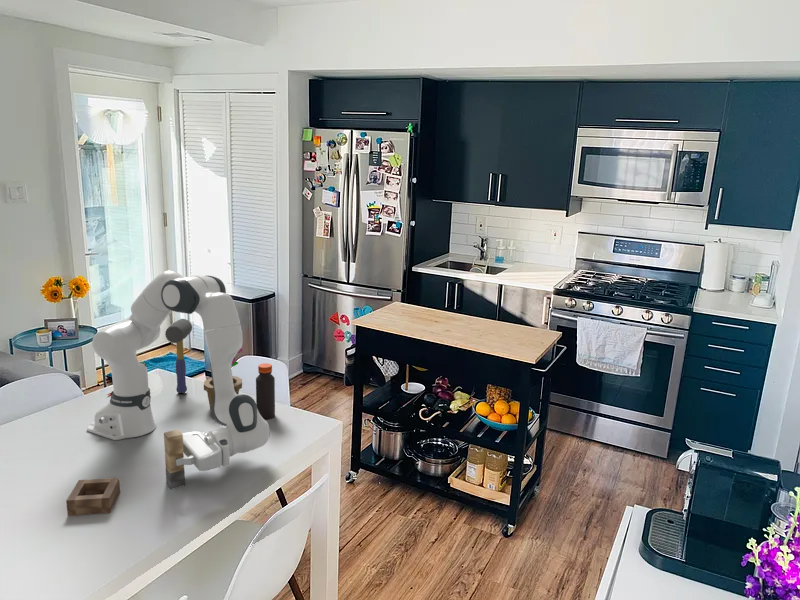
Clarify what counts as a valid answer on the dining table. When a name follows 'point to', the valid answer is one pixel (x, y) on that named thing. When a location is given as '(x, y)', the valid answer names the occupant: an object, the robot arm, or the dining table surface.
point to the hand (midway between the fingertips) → (171, 456)
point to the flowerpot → (209, 384)
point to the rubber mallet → (179, 349)
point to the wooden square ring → (93, 496)
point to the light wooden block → (173, 451)
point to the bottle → (265, 391)
